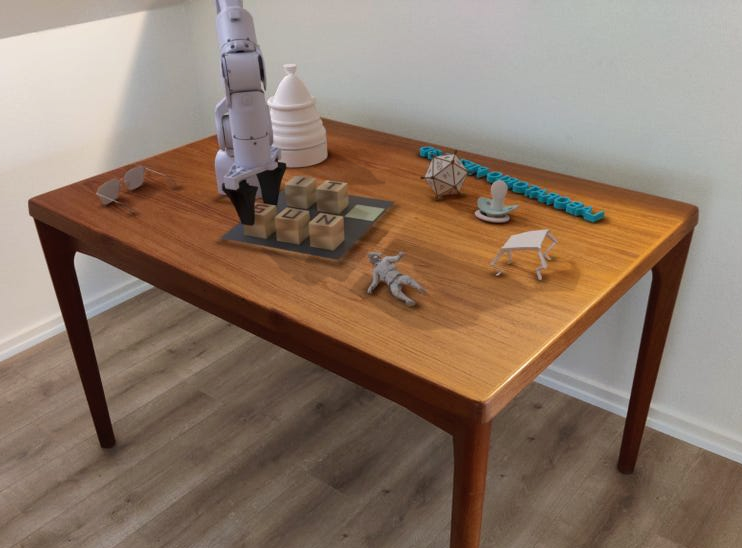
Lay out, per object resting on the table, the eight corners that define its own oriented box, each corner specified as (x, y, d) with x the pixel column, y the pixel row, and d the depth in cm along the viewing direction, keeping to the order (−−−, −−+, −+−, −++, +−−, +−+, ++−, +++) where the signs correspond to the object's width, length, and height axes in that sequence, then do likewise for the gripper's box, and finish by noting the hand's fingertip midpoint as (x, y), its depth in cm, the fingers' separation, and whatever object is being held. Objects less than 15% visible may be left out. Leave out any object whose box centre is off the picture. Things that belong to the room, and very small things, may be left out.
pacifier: (504, 228, 125) (520, 215, 129) (507, 194, 122) (523, 181, 125) (467, 218, 129) (484, 206, 133) (468, 185, 125) (485, 173, 129)
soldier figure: (392, 319, 104) (343, 267, 109) (406, 327, 108) (358, 276, 114) (429, 279, 103) (377, 228, 108) (442, 288, 107) (391, 238, 112)
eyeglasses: (146, 181, 146) (144, 162, 144) (179, 190, 144) (177, 171, 141) (98, 208, 136) (94, 188, 133) (133, 218, 133) (129, 198, 131)
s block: (244, 235, 123) (241, 211, 121) (257, 224, 126) (254, 201, 124) (266, 238, 122) (263, 215, 119) (278, 228, 125) (276, 205, 122)
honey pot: (267, 147, 161) (257, 61, 150) (325, 144, 162) (320, 58, 151) (266, 169, 150) (257, 78, 140) (329, 165, 151) (324, 74, 141)
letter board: (220, 243, 123) (215, 214, 120) (288, 190, 141) (285, 163, 138) (338, 265, 116) (337, 235, 113) (394, 206, 134) (394, 179, 130)
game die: (452, 217, 138) (468, 188, 129) (410, 199, 138) (423, 169, 128) (466, 180, 141) (483, 149, 132) (425, 162, 141) (439, 130, 132)
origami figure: (535, 290, 108) (538, 261, 105) (485, 274, 112) (488, 245, 109) (571, 259, 115) (575, 231, 113) (524, 245, 120) (527, 217, 117)
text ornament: (603, 217, 127) (604, 211, 127) (593, 222, 126) (594, 216, 125) (427, 150, 156) (427, 145, 156) (417, 154, 155) (417, 149, 154)
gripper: (248, 152, 108) (258, 236, 115) (294, 122, 118) (301, 201, 126) (207, 146, 110) (220, 229, 118) (256, 118, 121) (265, 196, 129)
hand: (259, 215), depth 122 cm, fingers open, 7 cm apart
